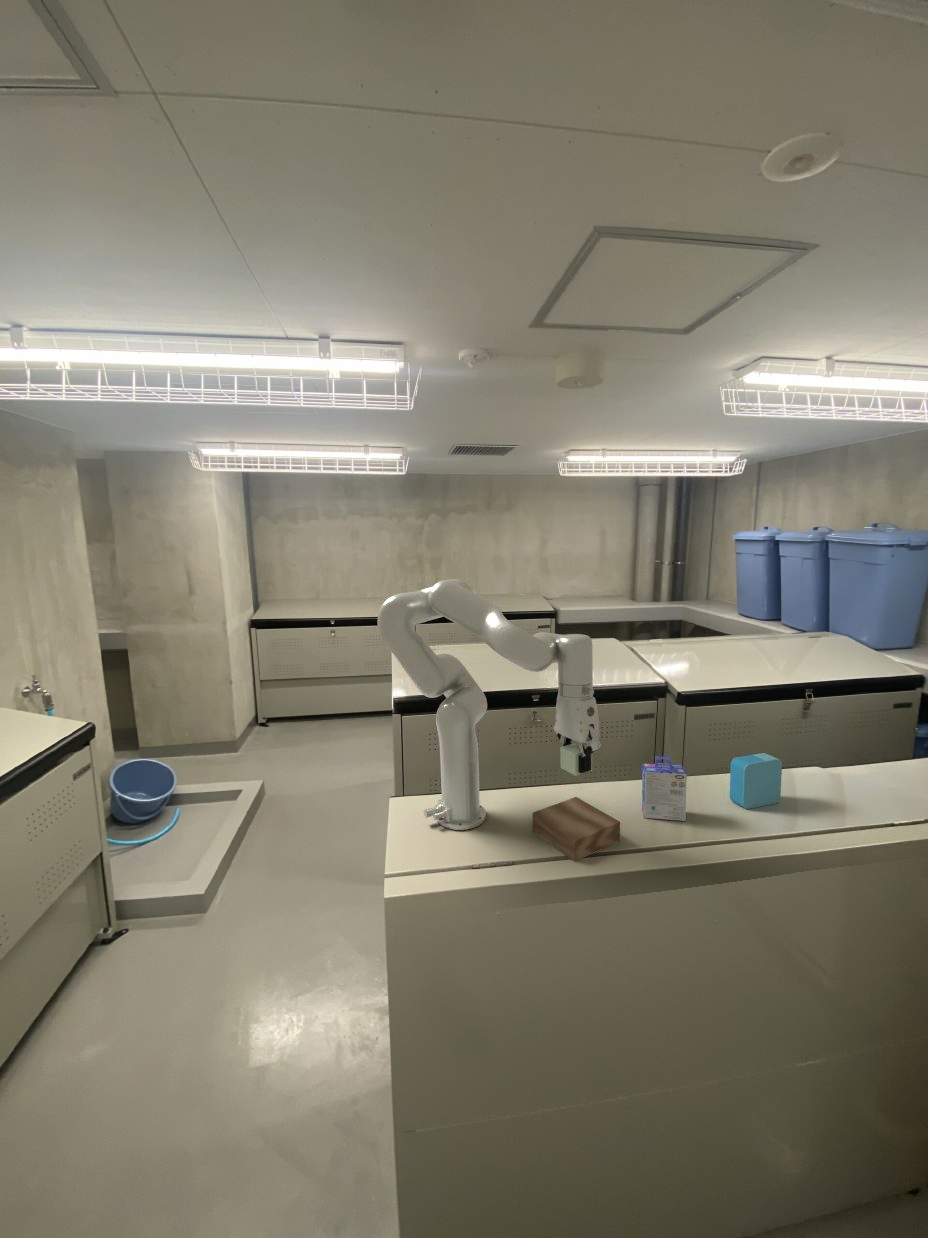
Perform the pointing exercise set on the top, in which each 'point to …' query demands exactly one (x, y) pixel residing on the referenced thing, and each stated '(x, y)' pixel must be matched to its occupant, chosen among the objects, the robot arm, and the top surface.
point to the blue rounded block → (755, 780)
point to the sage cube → (571, 758)
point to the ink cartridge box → (664, 790)
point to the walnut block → (576, 828)
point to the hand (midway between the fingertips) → (576, 766)
